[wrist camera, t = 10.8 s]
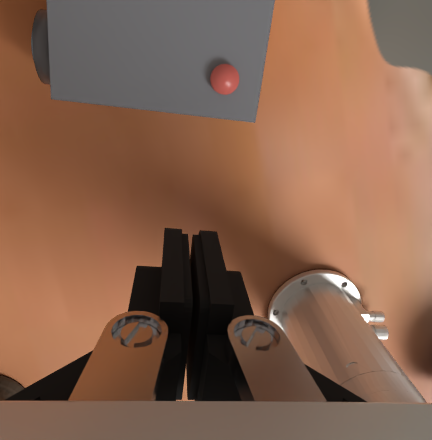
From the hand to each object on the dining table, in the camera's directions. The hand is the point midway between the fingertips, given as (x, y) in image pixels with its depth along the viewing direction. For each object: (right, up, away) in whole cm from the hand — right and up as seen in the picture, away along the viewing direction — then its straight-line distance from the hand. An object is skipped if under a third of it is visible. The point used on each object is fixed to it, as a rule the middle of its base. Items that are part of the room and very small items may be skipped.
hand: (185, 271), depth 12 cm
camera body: (-5, +18, +24) cm, 30 cm away
